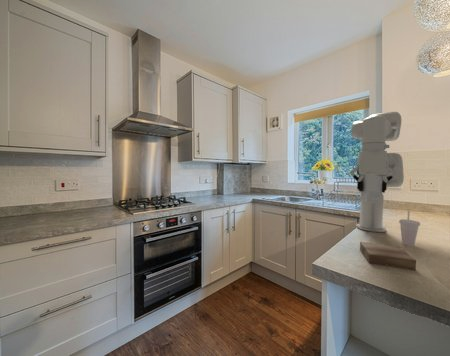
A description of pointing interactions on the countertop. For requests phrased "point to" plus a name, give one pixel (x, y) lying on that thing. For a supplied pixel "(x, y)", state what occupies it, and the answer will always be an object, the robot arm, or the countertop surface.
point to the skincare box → (372, 188)
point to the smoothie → (409, 230)
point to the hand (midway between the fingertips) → (371, 191)
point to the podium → (387, 255)
